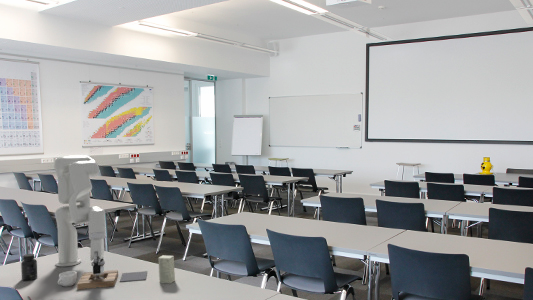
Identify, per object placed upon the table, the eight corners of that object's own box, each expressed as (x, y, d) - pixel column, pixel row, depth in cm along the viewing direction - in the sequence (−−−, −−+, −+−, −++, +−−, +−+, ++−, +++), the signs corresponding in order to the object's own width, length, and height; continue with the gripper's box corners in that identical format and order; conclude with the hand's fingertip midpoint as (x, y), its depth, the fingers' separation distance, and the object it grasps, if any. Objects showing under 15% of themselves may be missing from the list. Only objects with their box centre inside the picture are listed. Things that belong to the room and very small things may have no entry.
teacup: (67, 281, 206) (67, 270, 206) (80, 282, 203) (80, 271, 203) (51, 288, 196) (51, 277, 196) (64, 290, 194) (64, 278, 194)
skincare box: (175, 280, 205) (174, 255, 204) (170, 283, 201) (170, 258, 200) (163, 279, 207) (162, 254, 206) (158, 282, 202) (158, 257, 202)
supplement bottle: (19, 279, 209) (18, 255, 209) (34, 275, 214) (33, 252, 214) (24, 282, 205) (23, 257, 204) (39, 278, 210) (38, 254, 209)
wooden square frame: (84, 277, 210) (83, 272, 210) (118, 274, 214) (118, 269, 214) (77, 289, 195) (77, 283, 195) (114, 286, 198) (113, 280, 198)
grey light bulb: (93, 280, 207) (92, 260, 206) (106, 279, 208) (105, 260, 207) (90, 284, 201) (90, 264, 200) (104, 283, 202) (103, 263, 202)
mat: (122, 273, 215) (122, 273, 215) (147, 271, 218) (147, 271, 218) (119, 282, 204) (119, 281, 204) (145, 279, 206) (145, 279, 206)
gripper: (92, 231, 211) (93, 265, 211) (85, 239, 194) (86, 276, 194) (108, 230, 212) (109, 264, 213) (102, 238, 196) (104, 275, 196)
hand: (98, 270), depth 204 cm, fingers open, 9 cm apart
